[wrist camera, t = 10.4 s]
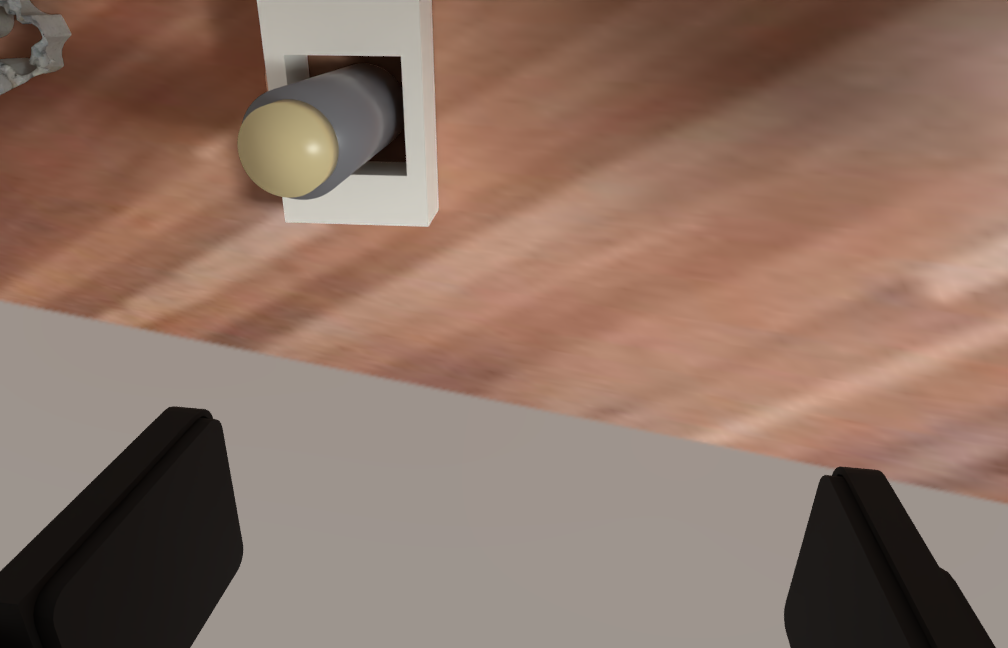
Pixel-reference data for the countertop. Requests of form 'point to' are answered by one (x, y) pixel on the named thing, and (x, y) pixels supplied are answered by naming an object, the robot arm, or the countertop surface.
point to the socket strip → (407, 33)
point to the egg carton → (46, 55)
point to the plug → (319, 130)
